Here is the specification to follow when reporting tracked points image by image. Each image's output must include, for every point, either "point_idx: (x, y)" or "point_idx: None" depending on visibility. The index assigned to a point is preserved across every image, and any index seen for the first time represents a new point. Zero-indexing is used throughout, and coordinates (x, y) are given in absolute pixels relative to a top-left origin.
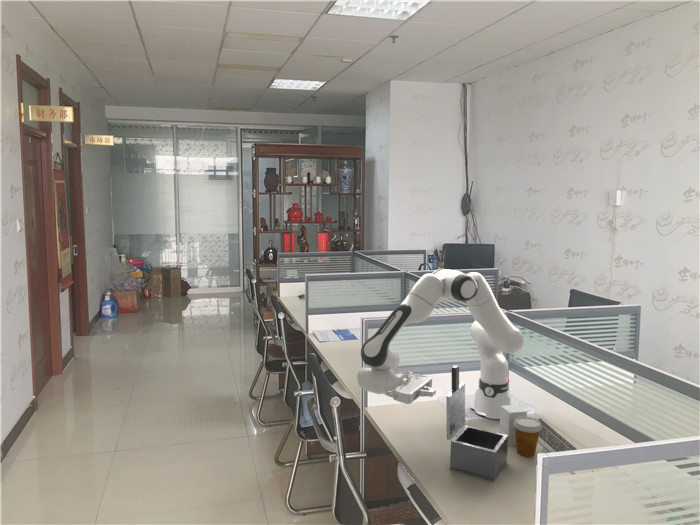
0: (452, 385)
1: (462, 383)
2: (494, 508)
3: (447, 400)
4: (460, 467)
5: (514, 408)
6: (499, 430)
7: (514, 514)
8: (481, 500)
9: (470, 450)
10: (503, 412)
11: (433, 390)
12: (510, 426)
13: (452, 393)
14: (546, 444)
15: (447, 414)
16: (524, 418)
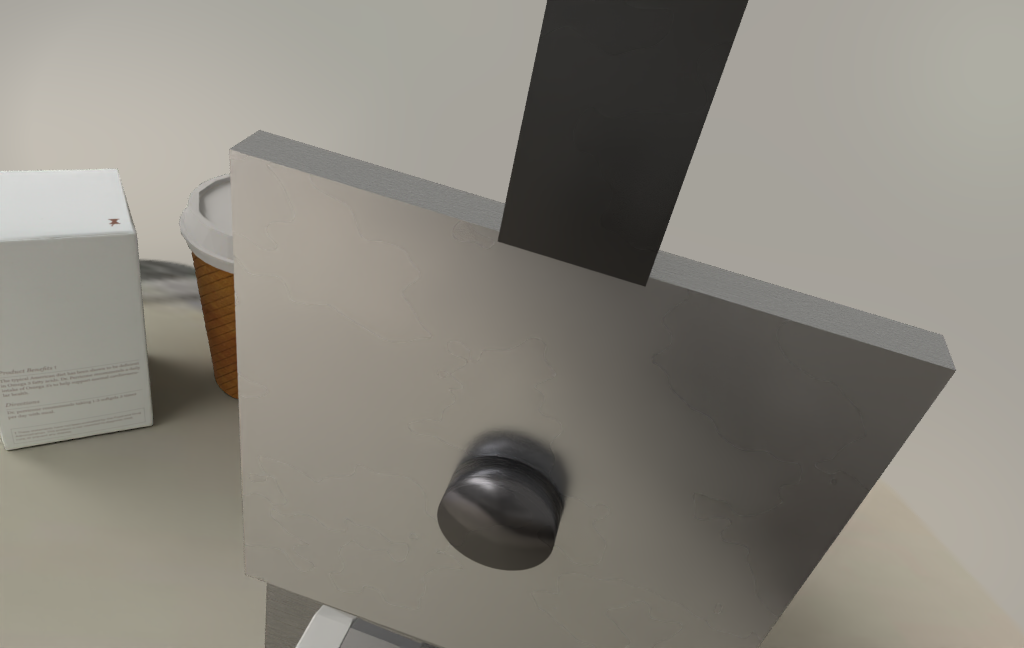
0: (675, 200)
1: (266, 148)
2: (895, 577)
3: (911, 415)
4: None
5: (48, 196)
6: (2, 410)
7: (878, 507)
8: (871, 629)
9: None
10: (31, 269)
11: (391, 643)
12: (143, 314)
13: (789, 295)
14: (150, 285)
15: (813, 558)
16: (202, 206)
